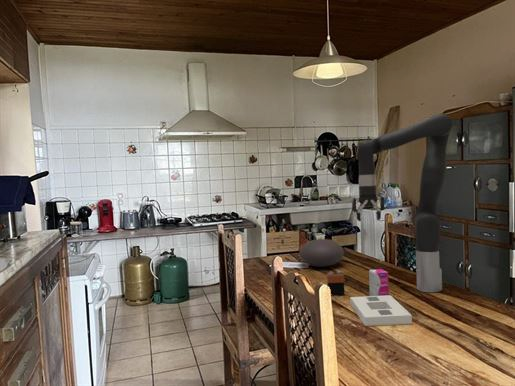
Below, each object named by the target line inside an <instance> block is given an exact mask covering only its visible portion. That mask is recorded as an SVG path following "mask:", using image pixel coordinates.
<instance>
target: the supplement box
mask: <svg viewBox="0 0 515 386" xmlns="http://www.w3.org/2000/svg"><path fill="white" fill-rule="evenodd" d="M368 274H369V275H368V276H369V277H368V278H369V279H368V281H369V285H368V286H369V296H385V295H390V294H389V293H390V292H389V289H390V287H389V271H386V270H384V269H382V268H379V269H369V270H368Z"/></svg>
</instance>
